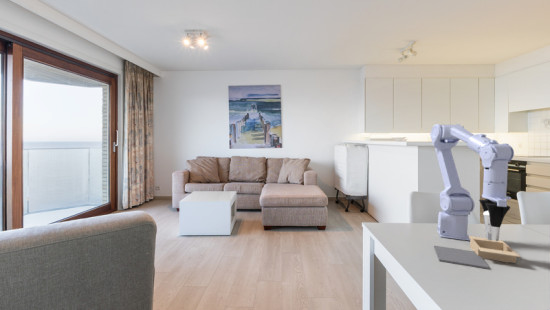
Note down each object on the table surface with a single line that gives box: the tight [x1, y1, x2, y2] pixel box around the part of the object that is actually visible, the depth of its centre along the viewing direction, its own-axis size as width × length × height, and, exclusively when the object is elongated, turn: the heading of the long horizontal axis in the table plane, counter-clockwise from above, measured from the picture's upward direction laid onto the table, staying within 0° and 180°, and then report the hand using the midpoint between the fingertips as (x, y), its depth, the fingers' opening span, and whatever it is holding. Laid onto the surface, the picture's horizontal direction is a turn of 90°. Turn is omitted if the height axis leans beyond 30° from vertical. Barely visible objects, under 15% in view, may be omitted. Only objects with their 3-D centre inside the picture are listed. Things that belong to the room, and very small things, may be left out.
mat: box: [433, 245, 490, 270], centre depth 82 cm, size 12×12×1 cm
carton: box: [468, 235, 521, 264], centre depth 84 cm, size 9×14×3 cm, turn 156°
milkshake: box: [482, 211, 501, 241], centre depth 83 cm, size 5×5×10 cm
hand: (492, 224), depth 84 cm, fingers closed on milkshake, 4 cm apart
